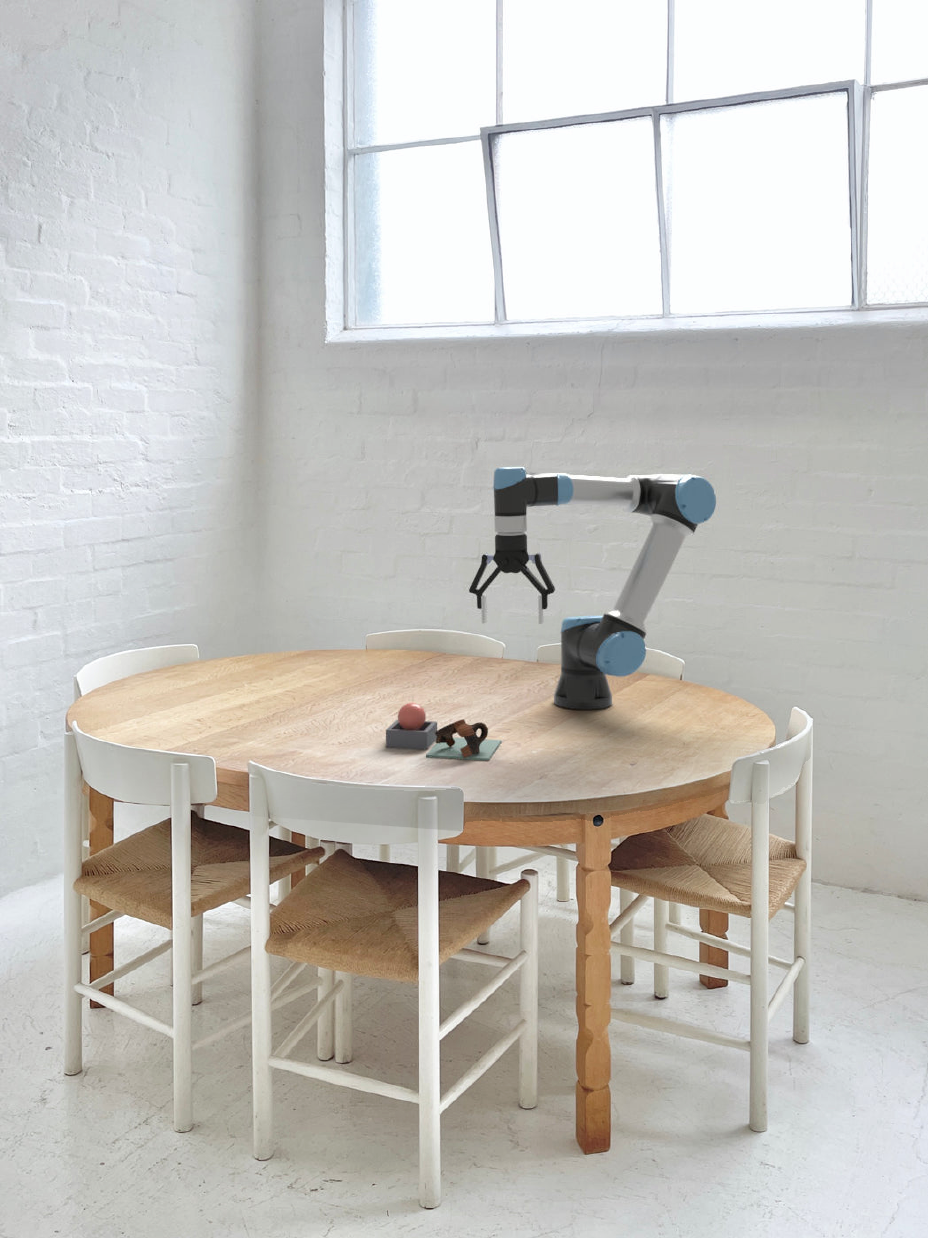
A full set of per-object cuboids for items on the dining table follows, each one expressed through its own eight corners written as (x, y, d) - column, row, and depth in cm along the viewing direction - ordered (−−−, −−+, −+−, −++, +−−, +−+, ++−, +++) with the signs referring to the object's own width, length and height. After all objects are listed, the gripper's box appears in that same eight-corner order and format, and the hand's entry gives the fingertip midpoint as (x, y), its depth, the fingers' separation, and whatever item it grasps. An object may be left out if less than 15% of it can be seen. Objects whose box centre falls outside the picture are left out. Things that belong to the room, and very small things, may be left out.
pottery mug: (454, 763, 247) (438, 728, 248) (441, 771, 256) (425, 737, 257) (501, 742, 252) (485, 708, 254) (486, 750, 261) (471, 717, 262)
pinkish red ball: (428, 727, 265) (428, 700, 264) (422, 734, 259) (421, 707, 258) (402, 726, 267) (401, 699, 266) (394, 733, 261) (394, 705, 260)
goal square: (501, 742, 264) (501, 740, 264) (488, 760, 249) (488, 758, 249) (442, 739, 267) (442, 736, 267) (426, 756, 252) (426, 754, 252)
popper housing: (437, 738, 267) (437, 721, 267) (427, 749, 258) (427, 732, 257) (397, 736, 269) (397, 719, 269) (386, 747, 260) (385, 729, 259)
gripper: (565, 531, 270) (566, 620, 274) (461, 532, 275) (464, 619, 279) (562, 534, 263) (563, 625, 267) (455, 535, 268) (458, 624, 272)
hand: (512, 622), depth 273 cm, fingers open, 13 cm apart
